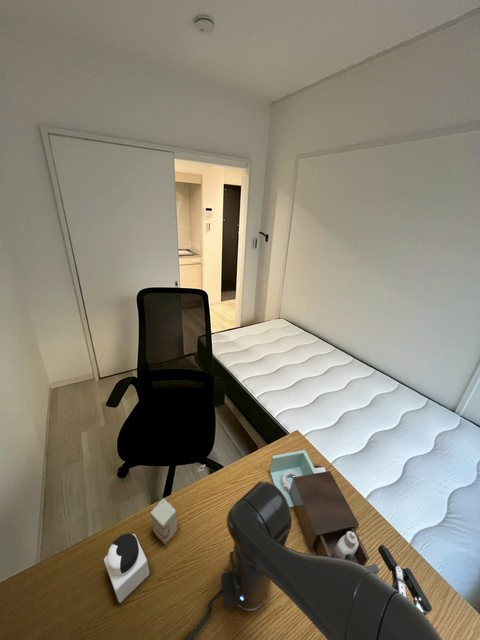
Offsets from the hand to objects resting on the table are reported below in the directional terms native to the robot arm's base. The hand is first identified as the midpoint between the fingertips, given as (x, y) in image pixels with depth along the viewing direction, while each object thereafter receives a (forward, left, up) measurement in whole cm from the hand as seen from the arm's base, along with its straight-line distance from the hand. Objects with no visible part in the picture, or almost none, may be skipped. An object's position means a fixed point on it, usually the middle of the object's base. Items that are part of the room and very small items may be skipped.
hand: (363, 551), depth 54 cm
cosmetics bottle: (-44, +18, -15) cm, 50 cm away
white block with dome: (-52, +11, -15) cm, 55 cm away
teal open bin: (-4, +24, -15) cm, 29 cm away
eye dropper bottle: (0, +4, -13) cm, 14 cm away
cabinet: (0, +14, -15) cm, 21 cm away
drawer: (0, +3, -14) cm, 14 cm away
